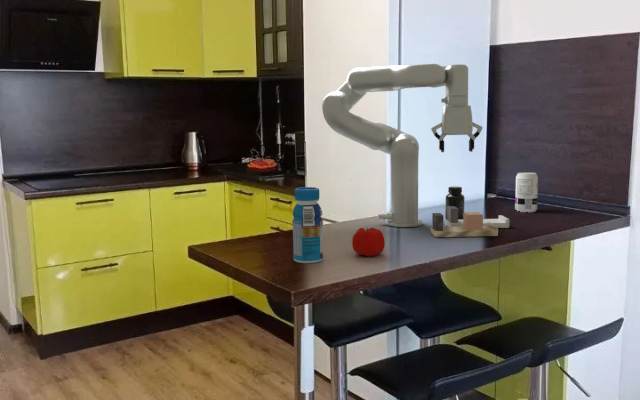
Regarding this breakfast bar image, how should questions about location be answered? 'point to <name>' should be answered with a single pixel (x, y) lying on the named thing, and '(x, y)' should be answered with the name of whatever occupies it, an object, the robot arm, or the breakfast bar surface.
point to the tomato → (368, 242)
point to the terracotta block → (473, 221)
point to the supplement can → (526, 192)
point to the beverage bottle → (307, 226)
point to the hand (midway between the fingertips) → (456, 151)
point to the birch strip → (459, 229)
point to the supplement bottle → (455, 201)
